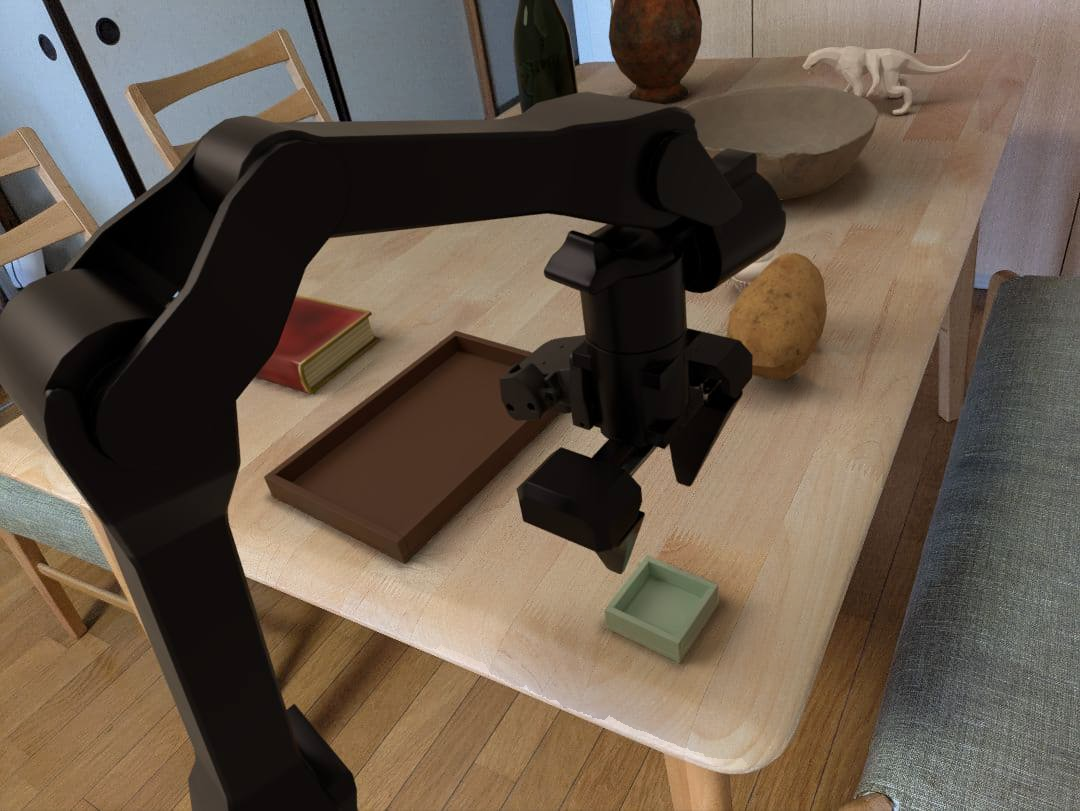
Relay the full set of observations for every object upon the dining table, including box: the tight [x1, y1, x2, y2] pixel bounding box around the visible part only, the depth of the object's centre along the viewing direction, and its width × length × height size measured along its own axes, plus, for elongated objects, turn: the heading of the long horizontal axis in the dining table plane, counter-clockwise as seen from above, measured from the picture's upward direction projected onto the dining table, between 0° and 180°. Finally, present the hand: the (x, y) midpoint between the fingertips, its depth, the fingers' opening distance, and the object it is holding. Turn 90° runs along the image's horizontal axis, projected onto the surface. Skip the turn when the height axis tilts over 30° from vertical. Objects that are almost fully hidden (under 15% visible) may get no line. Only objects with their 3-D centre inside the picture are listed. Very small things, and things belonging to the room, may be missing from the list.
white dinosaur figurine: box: [802, 45, 972, 116], centre depth 135 cm, size 12×25×10 cm, turn 76°
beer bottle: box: [512, 0, 579, 114], centre depth 141 cm, size 10×10×33 cm
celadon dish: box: [604, 554, 720, 664], centre depth 61 cm, size 6×6×2 cm
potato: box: [726, 252, 828, 380], centre depth 83 cm, size 9×16×9 cm, turn 149°
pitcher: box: [608, 0, 703, 105], centre depth 149 cm, size 17×21×30 cm
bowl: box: [681, 85, 879, 201], centre depth 118 cm, size 28×28×10 cm
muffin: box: [730, 249, 781, 294], centre depth 95 cm, size 6×6×7 cm
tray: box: [263, 330, 560, 564], centre depth 82 cm, size 28×18×2 cm, turn 144°
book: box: [254, 294, 381, 395], centre depth 100 cm, size 12×21×4 cm, turn 58°
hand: (651, 524), depth 56 cm, fingers open, 9 cm apart
